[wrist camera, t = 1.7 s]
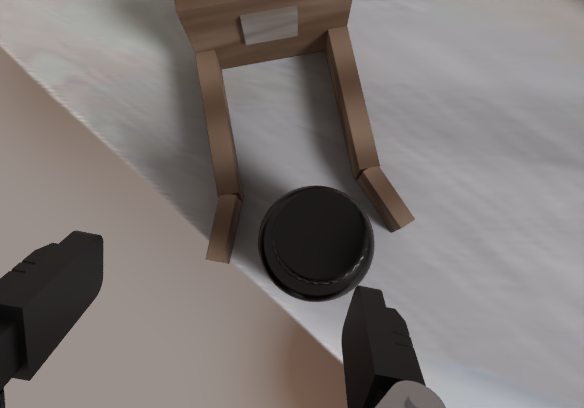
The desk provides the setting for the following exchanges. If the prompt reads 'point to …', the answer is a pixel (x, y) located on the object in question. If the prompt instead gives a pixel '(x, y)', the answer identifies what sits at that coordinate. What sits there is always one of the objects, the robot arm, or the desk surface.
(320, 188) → the supplement bottle
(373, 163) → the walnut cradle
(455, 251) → the desk surface
